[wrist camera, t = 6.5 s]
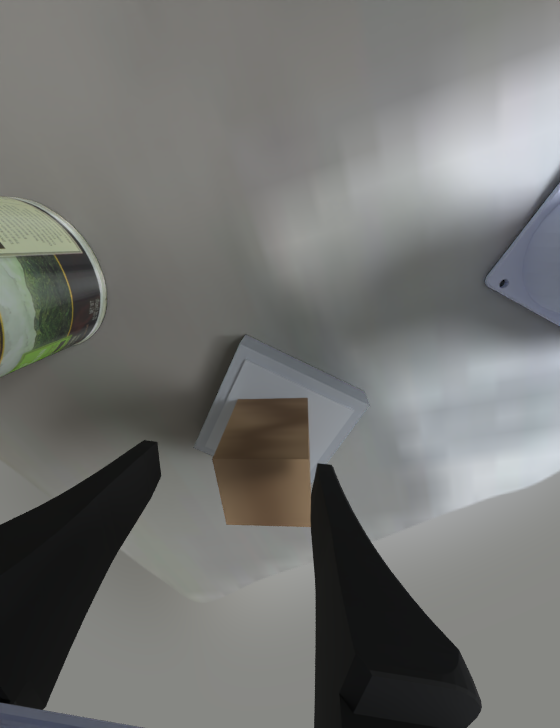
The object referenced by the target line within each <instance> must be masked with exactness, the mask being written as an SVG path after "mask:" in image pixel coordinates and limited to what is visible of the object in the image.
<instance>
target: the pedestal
mask: <svg viewBox="0 0 560 728" xmlns="http://www.w3.org/2000/svg"><path fill="white" fill-rule="evenodd" d="M273 398H308V418H309V443H310V481H311V484H312V482H313V481H314V478H315V472H316V467H317V463H320V464H327V462H328V461H329V460H330V458H331V457H332V456H333V454H334V453H335V452H336V450H337V449H338V448H339V446H340V445H341V444H342V442H343V441H344V440H345V438H346V437H347V436H348V434H349V433H350V432H351V430H352V429H353V427H354V426H355V425H356V423H357V422H358V421H359V419H360V418H361V417H362V415H363V414H364V413H365V411H366V410H367V409H368V407H369V406H370V404H369V402H368V399H367V397H366V394H365V392H364V391H363V390H361V389H358V388H356V387H354V386H352V385H350V384H348V383H346V382H344V381H342V380H340V379H338V378H335V377H333V376H331V375H329V374H327V373H325V372H323V371H321V370H319V369H317V368H315V367H313V366H310V365H308V364H306V363H304V362H302V361H300V360H298V359H296V358H294V357H292V356H290V355H288V354H285V353H283V352H281V351H279V350H277V349H275V348H273V347H271V346H269V345H267V344H265V343H262V342H260V341H258V340H256V339H254V338H252V337H250V336H248V335H245V336H244V338H243V339H242V341H241V342H240V344H239V346H238V348H237V351H236V353H235V355H234V357H233V360H232V362H231V364H230V366H229V369H228V371H227V373H226V375H225V378H224V380H223V382H222V384H221V387H220V389H219V391H218V393H217V396H216V398H215V400H214V402H213V405H212V407H211V409H210V411H209V414H208V416H207V418H206V420H205V423H204V425H203V427H202V429H201V432H200V434H199V436H198V438H197V441H196V443H195V445H194V447H193V448H195V449H198V450H200V451H202V452H205V453H207V454H209V455H212V456H214V454H215V452H216V449H217V447H218V444H219V442H220V440H221V437H222V435H223V433H224V430H225V428H226V426H227V423H228V421H229V419H230V416H231V414H232V412H233V409H234V407H235V405H236V402H237V400H238V399H273Z"/></svg>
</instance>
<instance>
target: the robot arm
mask: <svg viewBox="0 0 560 728" xmlns="http://www.w3.org/2000/svg"><path fill="white" fill-rule="evenodd" d="M502 280H505V283H504V285H503V286H502V287H500V285H499V284H500V282H501V281H502ZM485 283H486V285H487V286H488V287H490V288H491V289H493V290H495V291H497V292H499V293H500V294H502V295H504V296H506V297H507V298H509V299H511V300H513V301H515V302H516V303H518V304H520V305H522V306H524V307H525V308H527V309H529V310H531V311H533V312H534V313H536V314H538V315H540V316H542V317H543V318H545V319H547V320H549V321H551V322H552V323H554V324H556V325H558V326H560V183H559V184H558V185H557V187H556V188H555V189H554V190H553V192H552V193H551V194H550V196H549V197H548V198H547V199H546V201H545V202H544V203H543V205H542V206H541V207H540V208H539V210H538V211H537V212H536V214H535V215H534V216H533V217H532V219H531V220H530V221H529V223H528V224H527V225H526V226H525V228H524V229H523V230H522V232H521V233H520V234H519V235H518V237H517V238H516V239H515V241H514V242H513V243H512V244H511V246H510V247H509V248H508V250H507V251H506V252H505V253H504V255H503V256H502V257H501V259H500V260H499V261H498V262H497V264H496V265H495V266H494V268H493V269H492V270H491V271H490V273H489V274H488V275H487V277H486V279H485ZM160 477H161V471H160V462H159V453H158V444H157V442H154V441H146V440H144V441H142V442H141V443H139V444H138V445H136V446H135V447H133V448H132V449H130V450H129V451H128V452H126V453H125V454H123V455H122V456H120V457H119V458H117V459H116V460H114V461H113V462H112V463H110V464H109V465H107V466H106V467H104V468H103V469H101V470H100V471H98V472H97V473H95V474H93V475H92V476H90V477H89V478H87V479H85V480H84V481H82V482H81V483H79V484H77V485H76V486H74V487H73V488H71V489H69V490H67V491H66V492H64V493H62V494H61V495H59V496H57V497H55V498H53V499H51V500H50V501H48V502H46V503H44V504H42V505H40V506H39V507H37V508H34V509H32V510H30V511H28V512H26V513H24V514H22V515H20V516H18V517H16V518H14V519H12V520H9V521H8V522H6V523H3V524H1V525H0V728H143V727H137V726H131V725H125V724H119V723H114V722H108V721H103V720H97V719H91V718H85V717H79V716H74V715H68V714H62V713H56V712H51V711H45V710H43V709H44V708H45V707H46V705H47V702H48V700H49V697H50V695H51V692H52V690H53V688H54V686H55V683H56V681H57V679H58V676H59V674H60V671H61V669H62V667H63V664H64V662H65V660H66V658H67V655H68V653H69V651H70V648H71V646H72V644H73V642H74V639H75V637H76V635H77V633H78V631H79V629H80V626H81V624H82V622H83V620H84V618H85V615H86V613H87V612H88V609H89V607H90V605H91V603H92V601H93V599H94V597H95V595H96V593H97V591H98V589H99V587H100V585H101V583H102V581H103V579H104V577H105V575H106V573H107V571H108V569H109V567H110V565H111V563H112V561H113V559H114V558H115V556H116V554H117V552H118V551H119V549H120V547H121V546H122V544H123V543H124V541H125V539H126V538H127V536H128V535H129V533H130V531H131V530H132V528H133V526H134V525H135V523H136V522H137V520H138V518H139V517H140V515H141V514H142V512H143V510H144V509H145V507H146V505H147V504H148V502H149V500H150V499H151V497H152V495H153V493H154V491H155V488H156V486H157V484H158V482H159V480H160ZM310 522H311V535H312V547H313V560H314V572H315V587H316V588H315V589H316V655H315V657H316V658H315V716H314V728H467V727H468V726H469V725H470V724H471V723H472V722H473V721H474V720H475V719H476V718H477V716H478V715H479V713H480V711H481V708H482V706H481V700H480V697H479V695H478V692H477V689H476V687H475V684H474V681H473V679H472V677H471V675H470V673H469V670H468V668H467V666H466V664H465V662H464V660H463V657H462V655H461V653H460V651H459V650H458V648H457V647H456V646H455V645H454V644H453V643H452V642H451V641H450V640H449V639H448V638H447V637H446V636H445V635H444V633H443V632H442V631H441V630H440V629H439V628H438V627H437V626H436V625H435V624H434V623H433V622H432V620H431V619H430V618H429V617H428V616H427V615H426V614H425V613H424V611H423V610H422V609H421V608H420V607H419V605H418V604H417V603H416V602H415V601H414V600H413V598H412V597H411V596H410V595H409V593H408V592H407V591H406V589H405V588H404V587H403V586H402V585H401V583H400V582H399V581H398V579H397V578H396V577H395V576H394V574H393V573H392V572H391V570H390V569H389V568H388V566H387V565H386V563H385V562H384V561H383V559H382V558H381V556H380V555H379V553H378V552H377V550H376V549H375V548H374V546H373V544H372V543H371V541H370V540H369V538H368V536H367V535H366V533H365V531H364V530H363V528H362V526H361V525H360V523H359V521H358V519H357V518H356V516H355V514H354V512H353V510H352V508H351V506H350V504H349V502H348V500H347V498H346V496H345V494H344V492H343V490H342V488H341V486H340V483H339V481H338V479H337V476H336V474H335V471H334V468H333V467H332V465H328V464H320V463H317V467H316V472H315V478H314V483H313V488H312V493H311V514H310Z"/></svg>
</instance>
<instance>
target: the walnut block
mask: <svg viewBox="0 0 560 728" xmlns="http://www.w3.org/2000/svg"><path fill="white" fill-rule="evenodd" d="M212 460H213V464H214V469H215V473H216V478H217V483H218V487H219V492H220V496H221V501H222V505H223V510H224V515H225V519H226V524H227V525H260V526H296V527H311V522H310V514H311V481H310V443H309V418H308V398H273V399H238V400H237V402H236V405H235V407H234V409H233V412H232V414H231V416H230V419H229V421H228V423H227V426H226V428H225V430H224V433H223V435H222V437H221V440H220V442H219V444H218V447H217V449H216V452H215V454H214V456H213V459H212Z"/></svg>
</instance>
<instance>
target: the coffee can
mask: <svg viewBox="0 0 560 728" xmlns="http://www.w3.org/2000/svg"><path fill="white" fill-rule="evenodd" d="M106 307H107V291H106V284H105V280H104V276H103V273H102V270H101V267H100V265H99V263H98V261H97V258H96V257H95V255H94V253H93V251H92V250H91V248H90V246H89V245H88V243H87V242H86V241H85V240H84V238H83V237H82V236H81V235H80V234H79V233H78V231H77V230H76V229H75V228H74V227H73V226H72V225H71V224H70V223H68V222H67V221H66V220H65V219H63V218H62V217H61V216H60V215H58V214H57V213H55V212H54V211H52V210H50V209H49V208H47V207H45V206H43V205H41V204H39V203H36V202H34V201H30V200H26V199H23V198H17V197H1V196H0V377H2V376H4V375H6V374H8V373H11V372H13V371H15V370H17V369H20V368H22V367H24V366H27V365H29V364H31V363H34V362H36V361H38V360H40V359H43V358H45V357H47V356H49V355H52V354H54V353H56V352H59V351H61V350H63V349H65V348H67V347H70V346H73V345H77V344H80V343H82V342H84V341H86V340H87V339H89V338H90V337H91V336H92V335H93V334H94V333H95V332H96V331H97V330H98V328H99V327H100V325H101V323H102V321H103V319H104V316H105V312H106Z"/></svg>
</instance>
